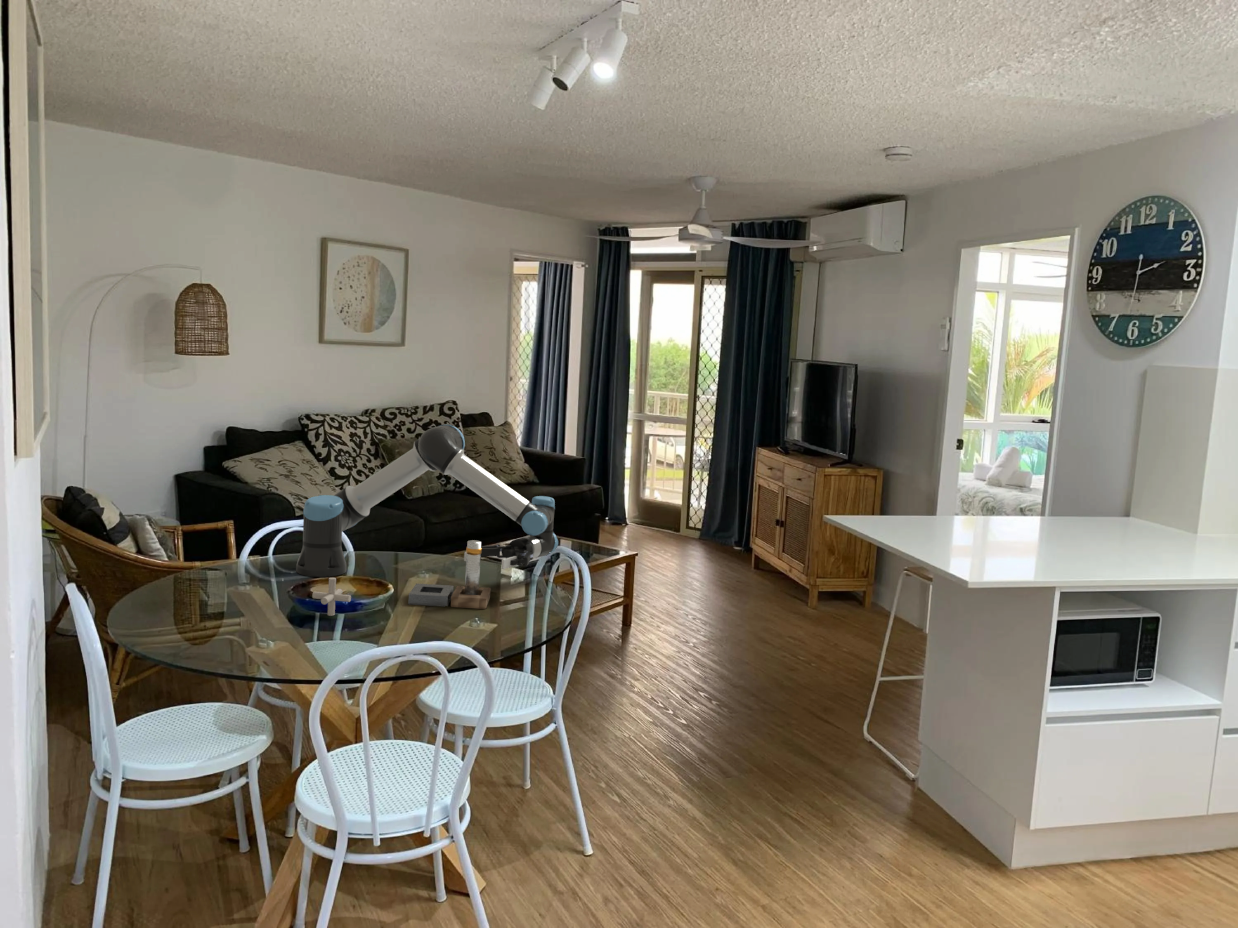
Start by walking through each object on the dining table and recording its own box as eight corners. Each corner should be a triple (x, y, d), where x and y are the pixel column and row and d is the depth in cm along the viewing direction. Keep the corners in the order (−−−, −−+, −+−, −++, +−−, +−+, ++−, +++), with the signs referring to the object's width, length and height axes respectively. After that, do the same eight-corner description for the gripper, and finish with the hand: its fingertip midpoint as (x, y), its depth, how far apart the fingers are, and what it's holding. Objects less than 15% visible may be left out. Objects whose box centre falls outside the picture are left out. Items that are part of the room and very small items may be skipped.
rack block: (450, 606, 261) (451, 596, 261) (456, 595, 273) (456, 585, 272) (485, 608, 261) (486, 598, 261) (489, 597, 273) (490, 587, 273)
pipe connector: (356, 611, 250) (357, 575, 249) (341, 621, 240) (343, 584, 239) (320, 607, 251) (322, 572, 250) (305, 617, 241) (306, 581, 240)
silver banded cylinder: (462, 603, 265) (465, 542, 263) (464, 599, 269) (467, 539, 267) (477, 604, 265) (481, 543, 263) (479, 600, 269) (482, 540, 267)
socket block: (408, 604, 260) (408, 594, 260) (415, 593, 272) (416, 583, 272) (447, 606, 261) (447, 596, 261) (452, 595, 273) (453, 585, 272)
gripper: (556, 567, 283) (518, 580, 264) (491, 554, 295) (449, 565, 276) (558, 543, 282) (519, 554, 264) (492, 531, 294) (450, 541, 275)
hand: (483, 560), depth 270 cm, fingers open, 13 cm apart
